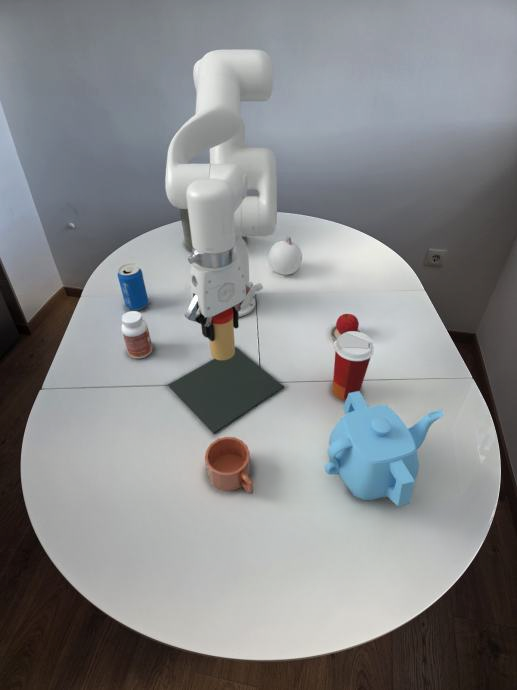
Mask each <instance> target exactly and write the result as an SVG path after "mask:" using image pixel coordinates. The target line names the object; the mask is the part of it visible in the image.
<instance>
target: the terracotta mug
mask: <svg viewBox="0 0 517 690" xmlns="http://www.w3.org/2000/svg"><path fill="white" fill-rule="evenodd" d="M204 462H205V468H206V473H207V478H208V481H209V483H210V484H211V485H212V486H213V487H215V488H216V489H218V490H221V491H225V492H229V491H230V492H231V491H236V490H237V489H239V488H241V487H242V488H243V489H244V490H245V492H246V493H247V494H248V495H253V493H254V481H253V480H252V479H251V478H250V474H251V453H250V450H249V448H248V445H247V444H246V443H245V442H244V441H243V440H242V439H239V438H237V437H235V436H224V437H219V438H217V439H216V440H214V441H213V442H211V443H210V444H209V445H208V447H207V448H206V450H205V455H204Z"/></svg>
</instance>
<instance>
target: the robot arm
mask: <svg viewBox="0 0 517 690" xmlns="http://www.w3.org/2000/svg"><path fill="white" fill-rule="evenodd" d="M192 75H193V77H192V78H193V83H194V88H195V92H196V97H195V98H196V99H195V114H194V115H193V116H192V117H190V118H189V119H188V120H187V121H186V122H185V123H184V124H183V125H182V126H181V127H180V128H179V130H177V132H176V133H175V135H174V136H173V137H172V139H171V141H170V143H169V145H168V149H167V155H166V164H165V167H166V168H165V179H164V182H165V183H164V187H165V194H166V197H167V199H168V201H169V203H170V204H171V205H172V206H173V207H175V208H177V209H179V208H180V209H188V214H189V222H190V230H191V238H192V247H193V248H192V252H191V255H189V256H188V257H187V261H188V263H189V264H190V266H191V267H190V278H189V279H190V280H189V286H190V287H189V288H190V299H191V302H190V304H189V305H188V308H187V309H186V311H185V312H184V317H185V319H187V320H188V321H192V322H195V323H197V324H200V326H201V333H202V336H203V337H204V338H206V339H208V340H211V341H214V339H215V335H214V326H213V324H211V320H212V316H215V315H217V314H219V313H221V312H223V311H225V310H227V309H229V308H231V307H232V309H233V325H234V329H239V328H240V325H239V324H240V323H239V322H240V321H239V320H240V319H239V318H241V317H244V316H245V315H249V314H251V312H253V310H254V309H255V307H256V298H255V296H254V295H255V294H256V293H257V292H259V291H261V290H263V288H264V287H263V284H262V283H261V282H259V283H257V284H255V285H254V282H252V281H250V254H249V253H250V252H249V247H248V245H247V242H246V243H245V241H244V240H243V238H242V236H246V237H269V236H271V235H273V234H274V233H275V232H276V228H277V223H278V167H277V159H276V156H275V153H274V151H272V150H271V149H269V148H267V147H262V146H261V147H260V146H259V147H257V146H256V147H255V146H252V147H247V146H246V125H245V122H244V120H243V119H242V115H241V114H242V113H241V107H242V106H241V103H242V102H267V101H268V100H269V99H270V97H271V95H272V92H273V90H274V89H273V88H274V79H275V78H274V76H275V75H274V66H273V62H272V59H271V57H270V55H269V54H268V53H267V52H266V51H264V50H262V49H216V50H211V51H209V52H207V53H205V54H204V55H203V56H202V58H201V59H199V60H197V61H196V62H195V63H194V65H193V69H192ZM208 150H209V163H189V162H190V161H191V160H192V159H193V158H194V157H196V156H198V155H199V154H202V153H203V152H205V151H208ZM248 191H255V192H257V194H258V195H247V194H248ZM180 209H179V210H180ZM197 312H198V313H197Z"/></svg>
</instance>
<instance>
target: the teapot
mask: <svg viewBox="0 0 517 690" xmlns="http://www.w3.org/2000/svg"><path fill="white" fill-rule="evenodd" d="M342 408H343V412H344V415H343V416H342V417H341V418H340V419H339V420H338V422H337V423H336V424H335V425H334V427H333V430H332V431H331V434H330V436H329V441H328V444H329V445H328V446H329V447H328V449H327V455H328V458H329V460H330V461H328V462H326V463H325V465H324V470H325V472H326V474H328V475H331V476H334V475H337V474H338V475H339V477H340V479H341V480H342V482H343V483H344V485H345V486H346V487H347V488H348V490H349V491H350V492H351V493H352V495H353V496H354V497H356V498H358V499H359V500H362V501H371V500H376V499H381V498H385V497H387V498H388V499H389V500H390V501H391V502H393V503H394V504H395V505H396V506H397V507H400V506H404V505H409V504H411V500H412V497H413V496H412V495H413V490H414V486H415V483H416V481H417V478H418V474H419V467H420V465H419V456H418V450H419V449H420V448H421V446H422V445H423V443H424V442H425V440H426V437H427V434H428V432H429V429H430V428H431V426H432V425H433V424H434V423H435V422H436V421H437V420H439V419H441V418H442V417H443V416H444V415H445V413H444V411H443V410H434V411H430V412H429V413H427V414H425V415H424V416H422V418H420V419H419V420H418V421H417V422H416V423H415V424H413V425H412V426H410V427H409V428H408V426H407V425H406V424H405V422H404V421H403V420H402V418H401V417H400V416H399V415H398V414H397V412H395V410H393V409H392V408H391V407H390V406H388V405H386V404H377V405H372V406H369V405H368V404H367V402H366V400H365V399H364V396H363V394H362V392H361V390H360V391H357V392H352V393H349V394H348V396H347V399H346V401H345V402H344V404H343V407H342Z"/></svg>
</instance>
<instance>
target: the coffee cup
mask: <svg viewBox="0 0 517 690" xmlns="http://www.w3.org/2000/svg"><path fill="white" fill-rule="evenodd" d="M360 332H361V331H360ZM360 332H356V331H349V332H346V333H343V334H342V335H340V336H339V337H338V338H337V339H336V340H334V342H333V349H334V350H335V351H334V364H333V376H332V377H333V378H332V393H333V395H334V396H335V397H336V398H337V399H339V400H340V401H345V402H346V399H347V396H348V394H349V393H352V392H357V391H360V392H361V389H362V387H363V383H364V380H365V377H366V375H367V371H368V367H369V364H370V360H371V358H372V356H373V355H374V353H375V346H374V343H373V340H372V338H370V337H369V336H368V335H367V334H365V333H363V332H361V333H360Z"/></svg>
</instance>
